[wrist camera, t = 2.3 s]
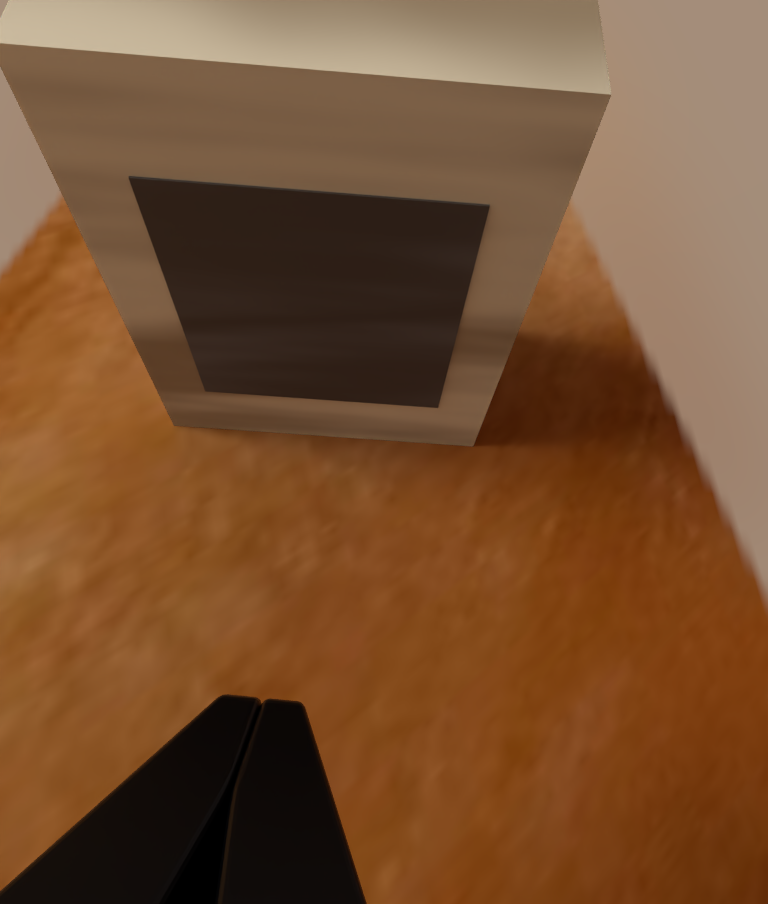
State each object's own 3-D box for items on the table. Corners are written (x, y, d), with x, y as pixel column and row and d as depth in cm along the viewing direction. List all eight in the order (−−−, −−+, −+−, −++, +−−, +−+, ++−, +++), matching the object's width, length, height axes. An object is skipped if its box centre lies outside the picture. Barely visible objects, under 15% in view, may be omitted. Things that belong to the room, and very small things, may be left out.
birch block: (473, 447, 23) (611, 96, 11) (173, 426, 22) (-12, 44, 11) (472, 324, 25) (587, -77, 13) (199, 304, 25) (68, -125, 13)
